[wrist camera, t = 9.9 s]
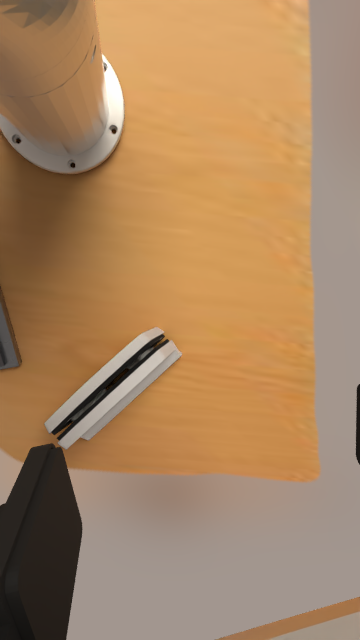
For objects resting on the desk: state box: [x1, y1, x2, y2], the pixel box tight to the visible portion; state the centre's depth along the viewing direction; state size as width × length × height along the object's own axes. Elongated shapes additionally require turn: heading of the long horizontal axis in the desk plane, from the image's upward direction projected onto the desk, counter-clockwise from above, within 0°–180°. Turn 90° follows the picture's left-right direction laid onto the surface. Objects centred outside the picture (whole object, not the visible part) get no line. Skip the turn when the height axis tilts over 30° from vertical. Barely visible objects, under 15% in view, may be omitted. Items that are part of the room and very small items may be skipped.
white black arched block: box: [44, 327, 182, 450], centre depth 37 cm, size 17×5×10 cm, turn 132°
